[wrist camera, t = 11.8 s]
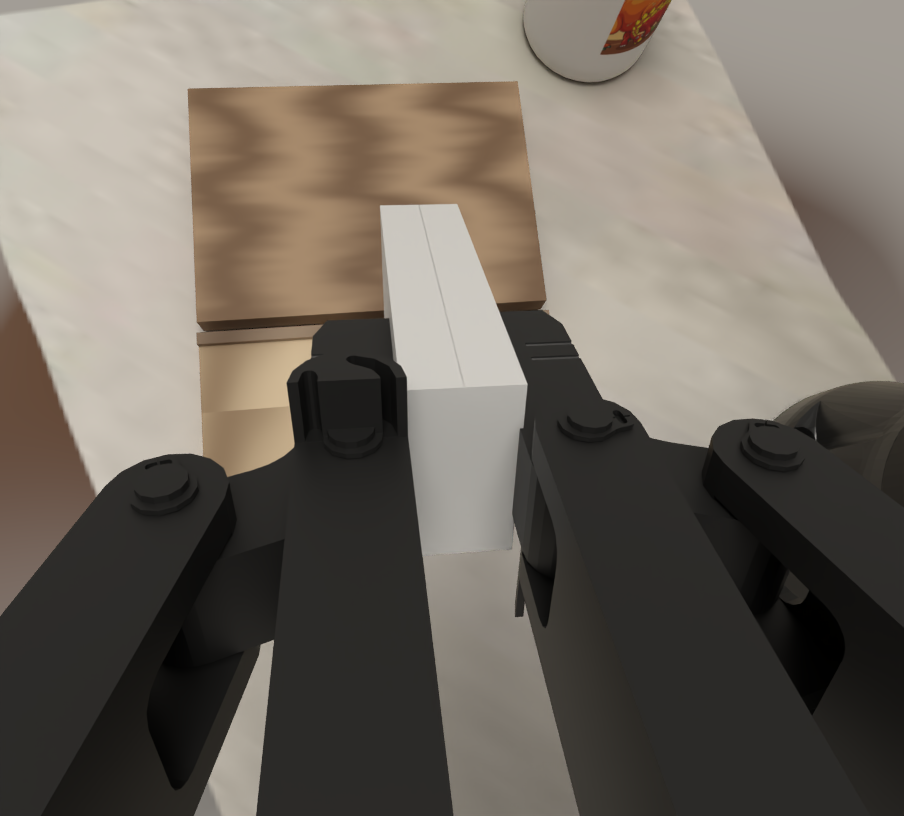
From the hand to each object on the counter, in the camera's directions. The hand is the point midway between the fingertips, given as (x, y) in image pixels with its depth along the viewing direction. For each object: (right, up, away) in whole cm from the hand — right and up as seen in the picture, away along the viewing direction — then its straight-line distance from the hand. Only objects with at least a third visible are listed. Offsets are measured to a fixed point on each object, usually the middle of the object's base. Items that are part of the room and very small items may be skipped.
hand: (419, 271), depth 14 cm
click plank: (-3, +3, +23) cm, 23 cm away
